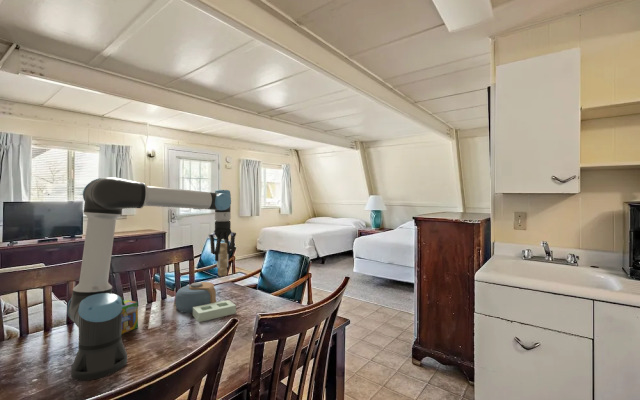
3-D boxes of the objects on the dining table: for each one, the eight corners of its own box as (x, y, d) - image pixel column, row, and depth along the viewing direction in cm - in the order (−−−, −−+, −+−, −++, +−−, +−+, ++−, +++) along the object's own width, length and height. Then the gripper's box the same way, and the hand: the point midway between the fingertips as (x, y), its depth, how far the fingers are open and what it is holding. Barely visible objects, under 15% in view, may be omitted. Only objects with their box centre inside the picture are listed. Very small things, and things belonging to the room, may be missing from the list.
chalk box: (138, 328, 131) (138, 294, 131) (116, 336, 122) (116, 300, 122) (126, 324, 135) (126, 291, 135) (103, 332, 127) (104, 297, 127)
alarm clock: (220, 308, 156) (220, 285, 156) (178, 316, 144) (179, 291, 144) (211, 298, 172) (211, 277, 172) (172, 304, 160) (173, 282, 160)
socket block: (198, 322, 138) (198, 313, 138) (192, 315, 146) (192, 307, 146) (235, 313, 149) (236, 305, 149) (228, 307, 157) (228, 299, 157)
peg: (220, 276, 147) (220, 243, 147) (218, 274, 150) (218, 243, 150) (227, 275, 149) (227, 243, 149) (224, 273, 152) (224, 242, 152)
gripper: (208, 221, 141) (208, 270, 141) (241, 220, 151) (241, 266, 151) (203, 220, 147) (203, 267, 147) (235, 219, 157) (235, 263, 157)
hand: (222, 266), depth 149 cm, fingers closed on peg, 3 cm apart
